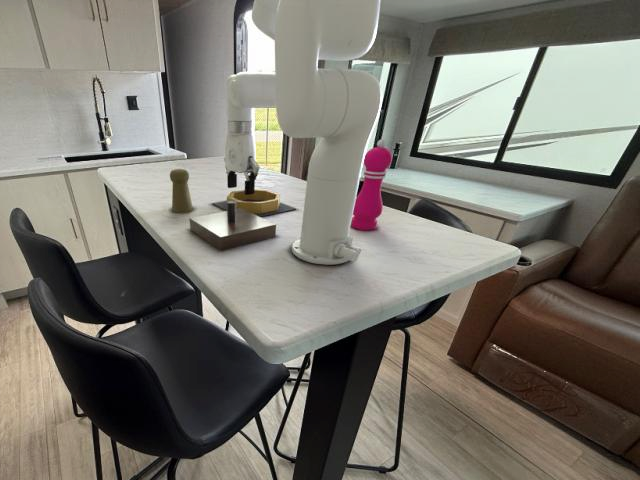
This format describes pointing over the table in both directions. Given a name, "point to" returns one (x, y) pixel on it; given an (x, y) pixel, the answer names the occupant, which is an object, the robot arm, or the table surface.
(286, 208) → the mat
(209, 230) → the peg stand
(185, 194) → the olive game pawn
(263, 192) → the brass hoop
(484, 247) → the table surface
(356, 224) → the pepper mill
